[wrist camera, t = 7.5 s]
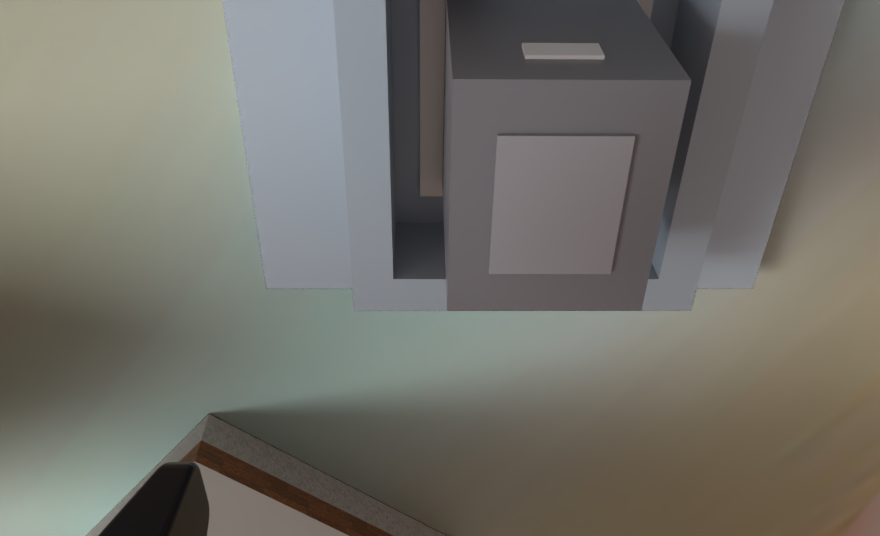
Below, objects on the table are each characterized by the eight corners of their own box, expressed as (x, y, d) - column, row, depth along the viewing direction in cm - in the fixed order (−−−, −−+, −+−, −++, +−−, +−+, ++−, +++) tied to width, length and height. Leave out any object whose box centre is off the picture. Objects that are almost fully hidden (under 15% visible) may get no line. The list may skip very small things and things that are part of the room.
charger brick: (442, 186, 20) (446, 313, 16) (445, -17, 17) (453, 77, 13) (597, 186, 20) (642, 313, 16) (629, -15, 17) (693, 78, 13)
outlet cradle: (271, 267, 23) (250, 348, 20) (203, -206, 16) (156, -183, 13) (741, 267, 23) (784, 347, 20) (882, -197, 16) (978, -173, 13)
